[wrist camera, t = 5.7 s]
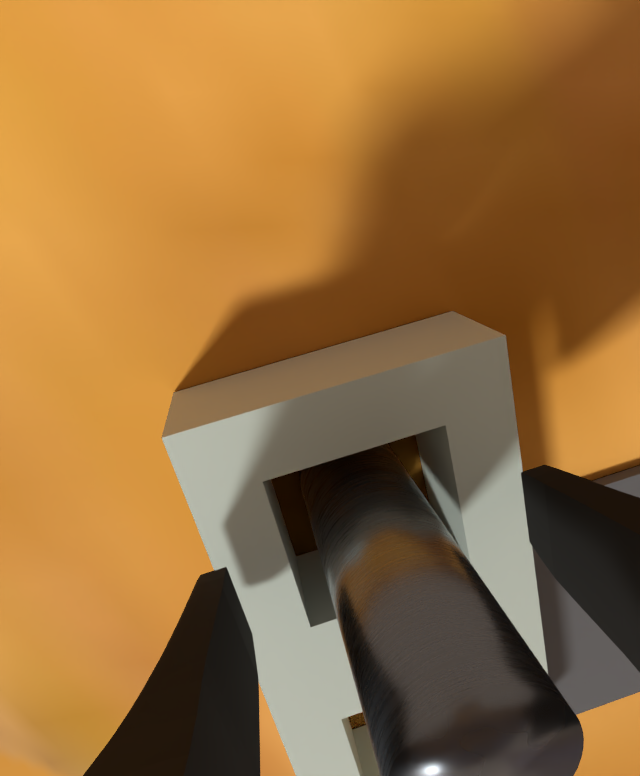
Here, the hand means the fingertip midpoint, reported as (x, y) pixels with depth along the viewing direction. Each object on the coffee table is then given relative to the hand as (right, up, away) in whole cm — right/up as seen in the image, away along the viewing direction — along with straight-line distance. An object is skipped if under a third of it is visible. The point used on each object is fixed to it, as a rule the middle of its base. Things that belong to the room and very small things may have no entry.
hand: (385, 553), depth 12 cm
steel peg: (-1, +1, +4) cm, 4 cm away
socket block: (0, -2, +5) cm, 6 cm away
